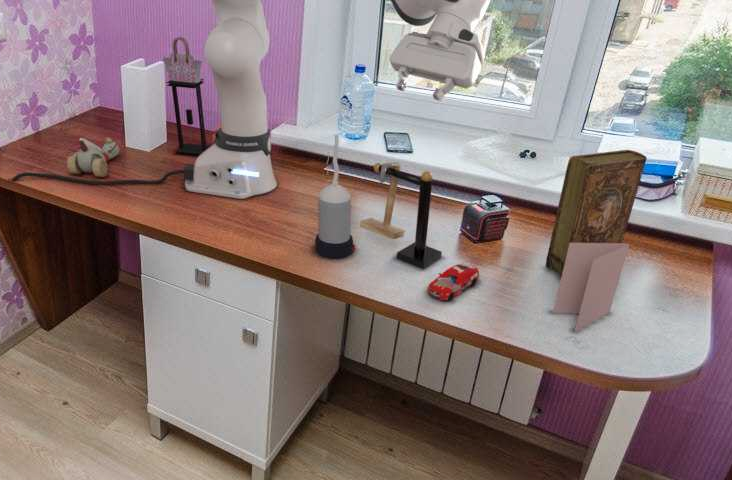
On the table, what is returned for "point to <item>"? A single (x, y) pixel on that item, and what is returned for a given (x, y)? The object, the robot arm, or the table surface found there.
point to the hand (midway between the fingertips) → (417, 93)
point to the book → (595, 201)
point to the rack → (418, 250)
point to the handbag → (188, 76)
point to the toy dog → (92, 158)
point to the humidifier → (334, 218)
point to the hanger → (386, 227)
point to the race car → (453, 281)
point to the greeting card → (590, 280)
